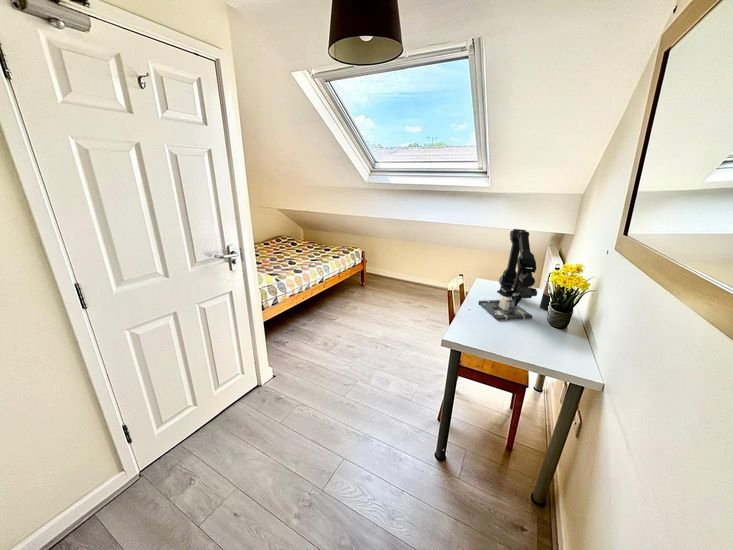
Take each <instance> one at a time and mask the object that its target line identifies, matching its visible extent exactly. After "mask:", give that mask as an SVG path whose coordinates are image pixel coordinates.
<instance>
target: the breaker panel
mask: <svg viewBox="0 0 733 550" xmlns="http://www.w3.org/2000/svg"><path fill="white" fill-rule="evenodd" d="M479 306H480V307H481V308H483V309H484V310H485V311H486V312H487V313H488V314H489V315H490V316H492V317H493V319H495V318H496V316H504V315H506V316H507V315H522V314H523V315H530V314H531V313H529V312H528V311H527V310H525V309H524V308H522V307H521V306H520V305H519V304H517V306H516V307H514V306H513V302H510V305H509V309H508V310H505V311H504V310H503V309H502V308H500V307H499V303H481V305H479Z"/></svg>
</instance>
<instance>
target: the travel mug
mask: <svg viewBox="0 0 733 550" xmlns="http://www.w3.org/2000/svg"><path fill="white" fill-rule="evenodd" d="M551 273H552V272H549V273H548V276H547V280H546V283H545V286H544V289H543V292H542V296H541V300H540V304H539V308H540V309H541V310H543V311H546V312H548V311H547V310H548V306H549V302H550V296H549V293H548V282H549V277H550V274H551Z"/></svg>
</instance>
